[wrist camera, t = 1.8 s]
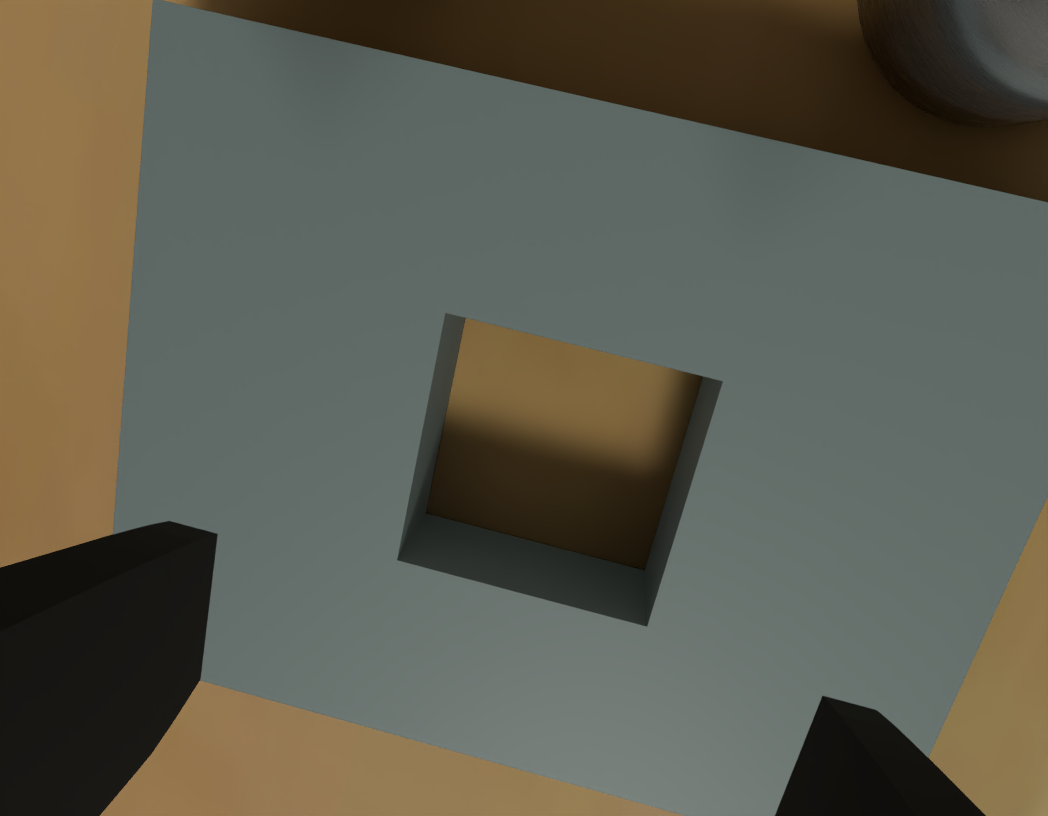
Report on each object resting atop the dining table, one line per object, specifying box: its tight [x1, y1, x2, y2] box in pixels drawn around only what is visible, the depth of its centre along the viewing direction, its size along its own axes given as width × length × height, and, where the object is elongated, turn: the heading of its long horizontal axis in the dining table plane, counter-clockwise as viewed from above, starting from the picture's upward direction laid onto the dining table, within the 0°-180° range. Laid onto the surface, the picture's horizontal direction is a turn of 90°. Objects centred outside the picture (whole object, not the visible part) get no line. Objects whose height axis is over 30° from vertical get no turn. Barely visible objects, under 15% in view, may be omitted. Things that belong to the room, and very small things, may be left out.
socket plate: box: [113, 0, 1048, 816], centre depth 17 cm, size 18×14×2 cm
